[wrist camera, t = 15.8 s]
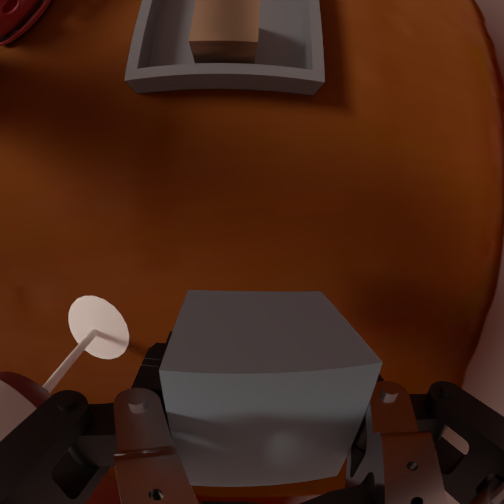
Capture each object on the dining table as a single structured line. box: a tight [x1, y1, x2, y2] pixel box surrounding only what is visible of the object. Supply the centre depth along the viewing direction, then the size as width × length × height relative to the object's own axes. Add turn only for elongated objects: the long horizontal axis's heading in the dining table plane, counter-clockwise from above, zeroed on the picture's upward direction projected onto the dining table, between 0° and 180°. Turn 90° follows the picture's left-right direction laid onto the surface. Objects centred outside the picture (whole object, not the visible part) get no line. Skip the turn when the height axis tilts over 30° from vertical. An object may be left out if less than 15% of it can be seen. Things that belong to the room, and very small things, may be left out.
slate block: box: [159, 290, 383, 487], centre depth 8 cm, size 5×5×5 cm
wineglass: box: [0, 296, 129, 460], centre depth 16 cm, size 8×9×20 cm
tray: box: [124, 0, 325, 95], centre depth 18 cm, size 16×16×4 cm
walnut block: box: [189, 0, 260, 64], centre depth 18 cm, size 5×5×5 cm
